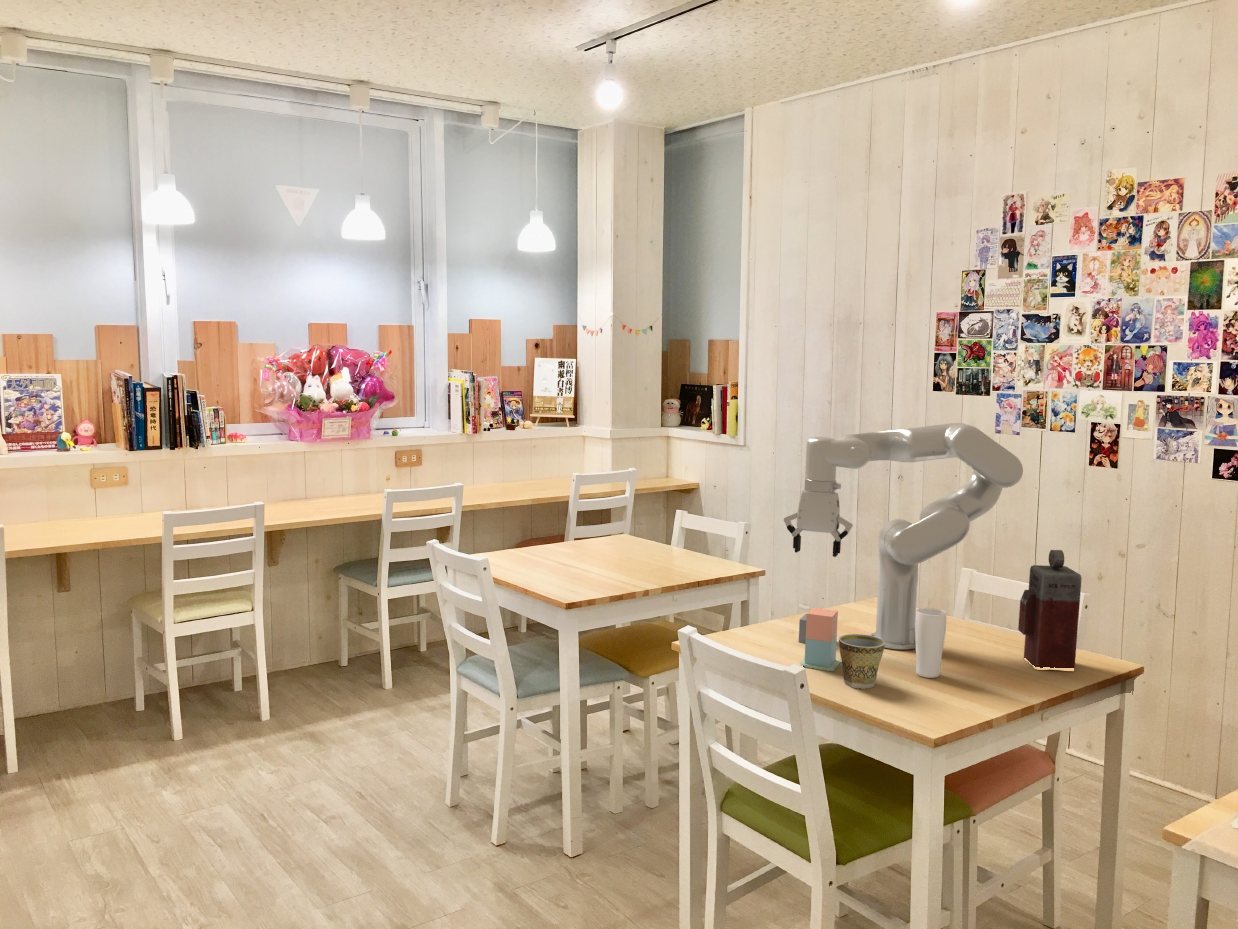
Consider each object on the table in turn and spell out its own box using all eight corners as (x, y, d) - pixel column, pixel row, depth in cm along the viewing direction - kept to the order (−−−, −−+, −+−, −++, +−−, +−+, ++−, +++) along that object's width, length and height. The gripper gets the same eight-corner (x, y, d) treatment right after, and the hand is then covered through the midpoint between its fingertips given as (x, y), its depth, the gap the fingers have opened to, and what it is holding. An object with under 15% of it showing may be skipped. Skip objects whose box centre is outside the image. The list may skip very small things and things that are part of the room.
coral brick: (811, 632, 238) (812, 607, 237) (836, 635, 235) (837, 610, 235) (805, 638, 232) (806, 613, 232) (831, 642, 230) (832, 616, 229)
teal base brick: (835, 660, 236) (836, 635, 235) (830, 667, 231) (831, 642, 230) (810, 656, 238) (811, 632, 238) (804, 663, 233) (805, 638, 232)
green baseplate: (840, 662, 237) (840, 659, 236) (833, 671, 229) (833, 669, 229) (807, 657, 240) (807, 654, 240) (799, 666, 233) (799, 664, 232)
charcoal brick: (827, 639, 255) (828, 617, 254) (822, 645, 249) (823, 622, 249) (804, 636, 257) (805, 613, 256) (798, 642, 252) (799, 619, 251)
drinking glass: (927, 681, 224) (931, 616, 222) (906, 672, 230) (909, 609, 228) (949, 677, 227) (953, 613, 225) (927, 668, 233) (931, 606, 231)
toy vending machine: (1013, 658, 242) (1021, 545, 239) (1060, 659, 241) (1069, 546, 238) (1025, 670, 233) (1034, 553, 230) (1074, 671, 233) (1084, 554, 229)
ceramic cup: (880, 694, 215) (882, 649, 214) (833, 688, 218) (835, 643, 217) (886, 676, 227) (888, 633, 226) (841, 670, 231) (843, 628, 229)
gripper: (857, 487, 248) (853, 554, 250) (789, 482, 255) (786, 547, 257) (851, 491, 241) (847, 560, 244) (781, 485, 249) (778, 552, 251)
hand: (816, 553), depth 251 cm, fingers open, 9 cm apart
